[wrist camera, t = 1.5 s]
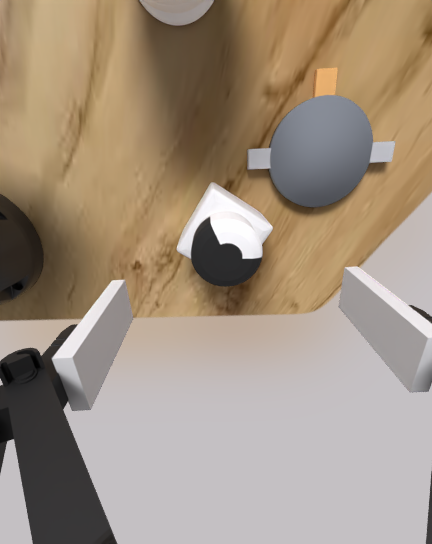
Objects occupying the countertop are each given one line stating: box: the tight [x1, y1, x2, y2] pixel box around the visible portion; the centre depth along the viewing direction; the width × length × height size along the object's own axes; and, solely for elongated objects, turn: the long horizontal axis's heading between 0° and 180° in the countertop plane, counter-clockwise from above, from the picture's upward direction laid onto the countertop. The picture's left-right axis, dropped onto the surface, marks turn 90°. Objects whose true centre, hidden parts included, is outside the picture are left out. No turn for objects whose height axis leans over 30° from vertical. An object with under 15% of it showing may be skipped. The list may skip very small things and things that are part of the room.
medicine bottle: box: [177, 182, 273, 286], centre depth 27 cm, size 7×7×12 cm
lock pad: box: [247, 68, 395, 207], centre depth 29 cm, size 16×13×1 cm
